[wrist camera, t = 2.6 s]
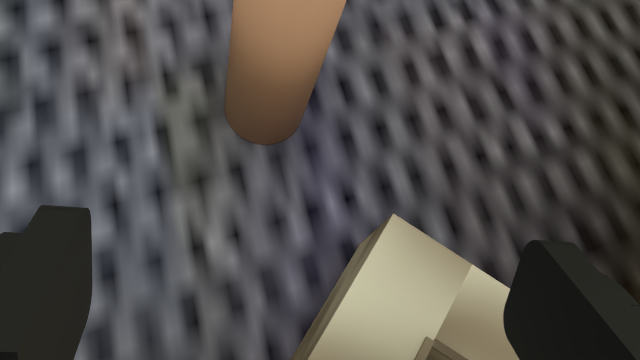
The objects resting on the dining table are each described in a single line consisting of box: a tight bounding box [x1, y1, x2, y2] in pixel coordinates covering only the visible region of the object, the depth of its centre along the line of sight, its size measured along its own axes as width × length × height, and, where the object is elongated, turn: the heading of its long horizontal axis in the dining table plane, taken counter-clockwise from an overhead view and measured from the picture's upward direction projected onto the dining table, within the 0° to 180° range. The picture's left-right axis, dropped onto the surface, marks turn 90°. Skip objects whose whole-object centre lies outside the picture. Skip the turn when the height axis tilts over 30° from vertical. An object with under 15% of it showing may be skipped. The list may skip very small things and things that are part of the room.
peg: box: [225, 0, 346, 145], centre depth 23 cm, size 4×4×12 cm
